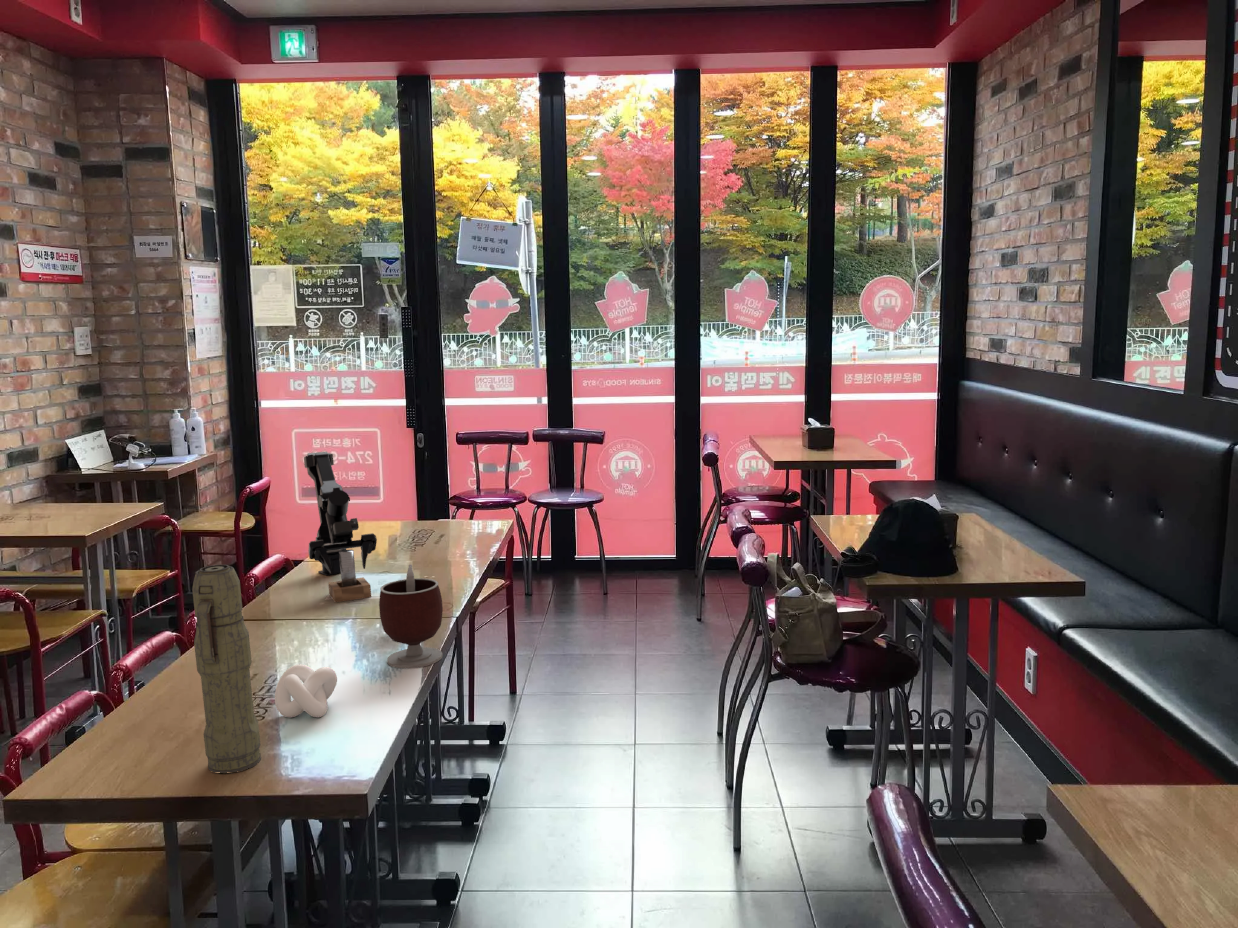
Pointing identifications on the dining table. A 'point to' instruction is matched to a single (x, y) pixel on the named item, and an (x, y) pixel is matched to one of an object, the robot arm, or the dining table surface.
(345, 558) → the pin
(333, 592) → the socket block
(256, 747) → the thermos
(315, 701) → the white knot
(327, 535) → the robot arm
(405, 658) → the mate gourd
